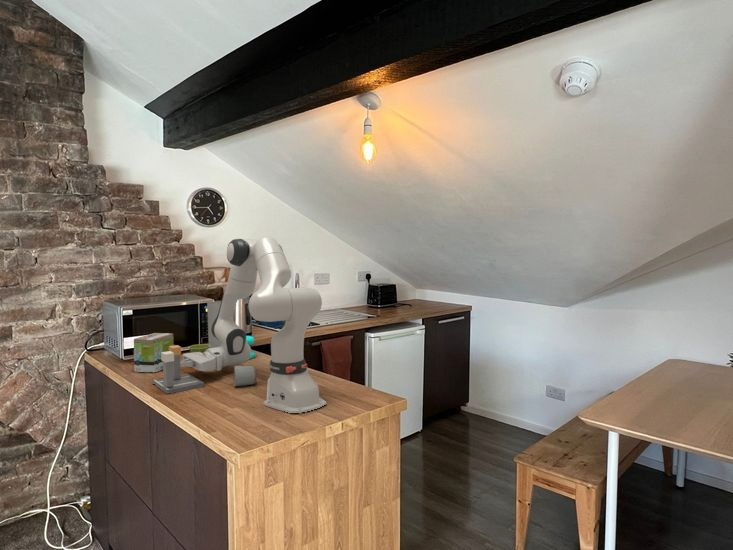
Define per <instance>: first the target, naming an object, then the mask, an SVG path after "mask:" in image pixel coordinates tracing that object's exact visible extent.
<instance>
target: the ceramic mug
mask: <svg viewBox="0 0 733 550" xmlns="http://www.w3.org/2000/svg"><path fill="white" fill-rule="evenodd" d="M233 367H234V368H233V385H234V387H243V386H252V385H255V384H256V383H257V368H256V366H253V365H234V366H233Z"/></svg>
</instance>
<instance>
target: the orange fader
mask: <svg viewBox="0 0 733 550" xmlns="http://www.w3.org/2000/svg"><path fill="white" fill-rule="evenodd" d="M169 351H171V352H173V353H174V361H173V379H179V378H181V374H182V373H181V367H180V361H181V356H182V346H180V345H178V344H177V345H176V344H174V346H169Z"/></svg>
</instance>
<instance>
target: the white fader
mask: <svg viewBox="0 0 733 550" xmlns="http://www.w3.org/2000/svg"><path fill="white" fill-rule="evenodd" d="M161 360H162V361H163V369H162V370H163V371H162V372H163V378H164V386H166V387H172V386H174V381H173V361H174V353H173V352H171V351H167V352H161Z"/></svg>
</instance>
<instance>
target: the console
mask: <svg viewBox="0 0 733 550" xmlns="http://www.w3.org/2000/svg"><path fill="white" fill-rule="evenodd" d="M173 381H174V386H172V387H166V386H164V377H159V378H155V379H151V384H152V383H153V384H155V385H156V386H157V387H159V388H160V389H161V390H160V389H159V388H158V389H159V390H160V391H162V390H163V391H164V392H165V393H164V392H163V391H162V392H163V393H164V394H166V393H167V394H166V395H170V394H169V393H171V394H175V393H174V392H176V393H179V392H185V390H186V391H190V390H195V389H200V388H204V387H205V385H206V384H205V382H204V381H202V380H201V379H199V378H196V377H195V376H193V375H192V374H189V373H187V372H186V373H181V378H179V379H173ZM153 384H152V385H153ZM155 385H154V386H155ZM156 386H155V387H156ZM157 387H156V388H157Z"/></svg>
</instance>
